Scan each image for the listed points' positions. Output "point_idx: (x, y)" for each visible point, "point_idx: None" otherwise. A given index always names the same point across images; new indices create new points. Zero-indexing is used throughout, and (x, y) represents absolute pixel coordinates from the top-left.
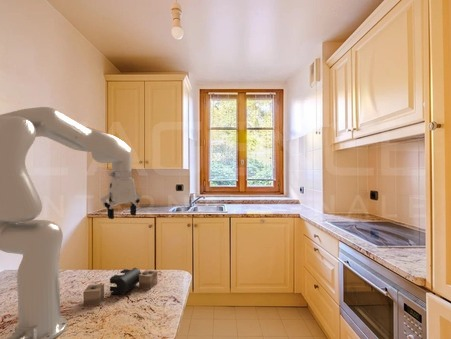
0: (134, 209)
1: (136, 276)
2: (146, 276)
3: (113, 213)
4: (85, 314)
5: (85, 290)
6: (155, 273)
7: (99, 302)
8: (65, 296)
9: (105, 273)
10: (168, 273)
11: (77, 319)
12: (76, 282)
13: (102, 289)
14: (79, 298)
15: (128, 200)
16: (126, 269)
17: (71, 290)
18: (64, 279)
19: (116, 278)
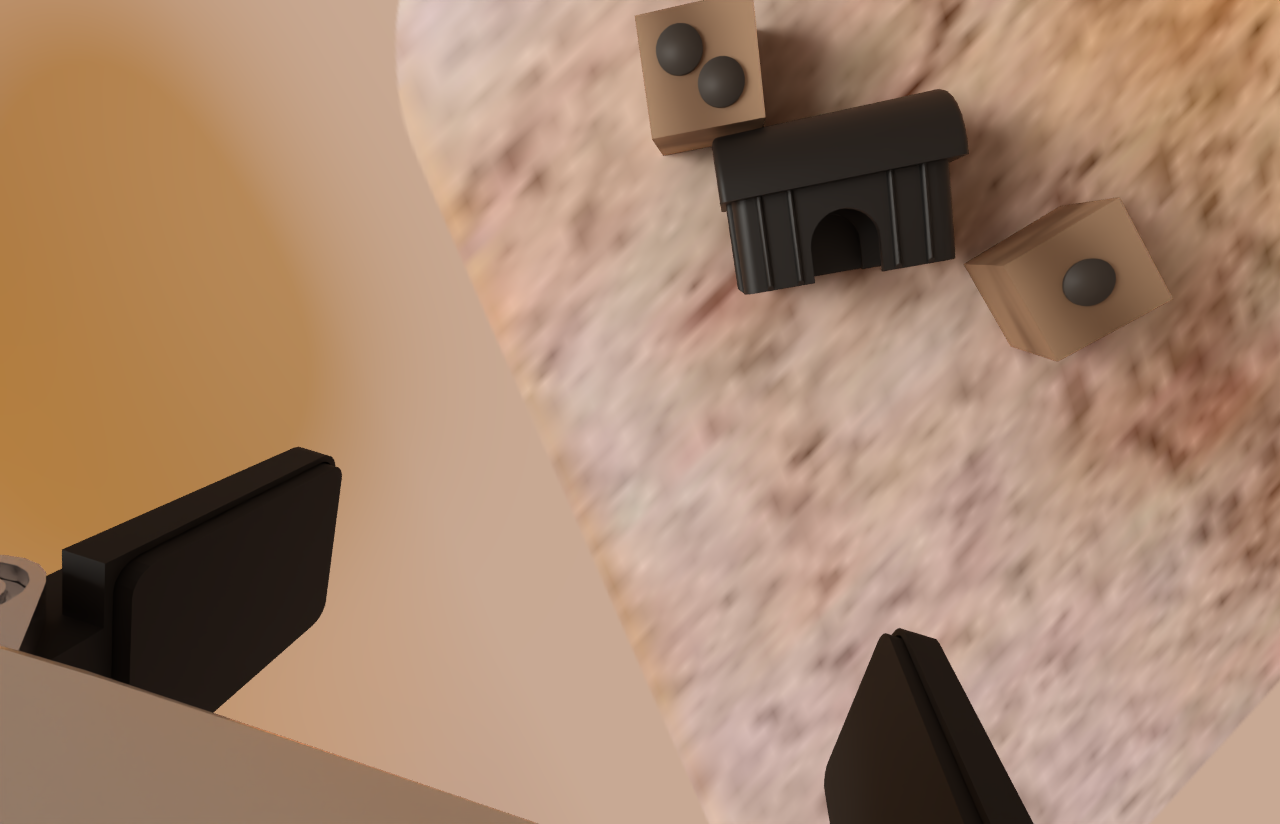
0: (214, 519)
1: (787, 123)
2: (756, 34)
3: (941, 720)
4: (1191, 190)
5: (1146, 305)
6: (666, 13)
7: (1069, 205)
8: (1026, 522)
9: (662, 558)
10: (470, 97)
11: (1258, 185)
12: (844, 624)
13: (1030, 242)
14: (1022, 414)
15: (196, 811)
16: (754, 272)
17: (947, 557)
18: (835, 730)
19: (944, 198)
